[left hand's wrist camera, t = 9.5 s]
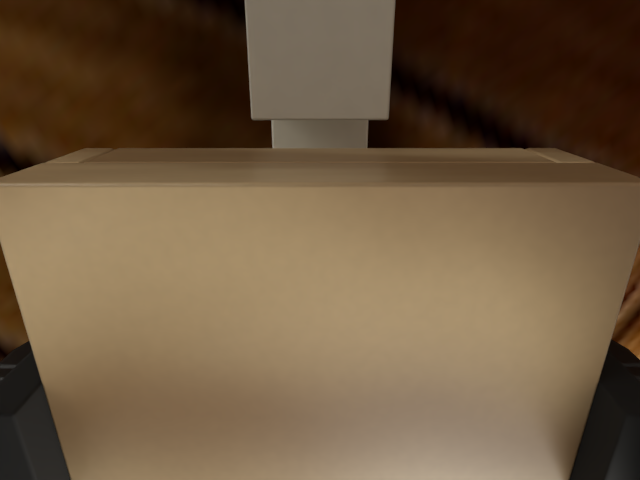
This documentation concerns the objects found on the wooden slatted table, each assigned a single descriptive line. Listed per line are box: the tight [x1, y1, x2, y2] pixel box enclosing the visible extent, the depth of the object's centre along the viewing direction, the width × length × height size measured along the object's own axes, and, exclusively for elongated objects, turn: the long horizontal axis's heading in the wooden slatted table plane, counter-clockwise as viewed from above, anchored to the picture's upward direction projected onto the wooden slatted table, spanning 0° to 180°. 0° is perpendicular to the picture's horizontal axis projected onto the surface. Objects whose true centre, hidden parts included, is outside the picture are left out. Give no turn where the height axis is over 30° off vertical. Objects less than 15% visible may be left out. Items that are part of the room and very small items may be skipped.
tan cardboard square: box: [0, 148, 640, 480], centre depth 10 cm, size 10×10×3 cm
